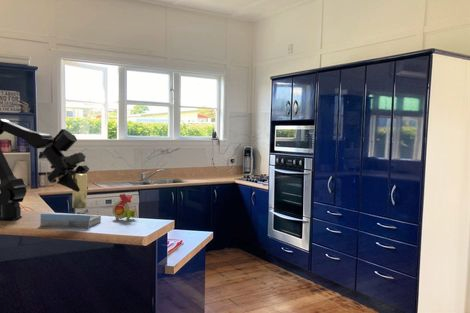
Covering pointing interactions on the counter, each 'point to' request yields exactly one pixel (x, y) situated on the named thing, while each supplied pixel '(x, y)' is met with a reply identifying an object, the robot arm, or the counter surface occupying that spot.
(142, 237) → the counter surface
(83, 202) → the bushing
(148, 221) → the counter surface
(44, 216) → the jig
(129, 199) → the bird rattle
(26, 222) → the counter surface
